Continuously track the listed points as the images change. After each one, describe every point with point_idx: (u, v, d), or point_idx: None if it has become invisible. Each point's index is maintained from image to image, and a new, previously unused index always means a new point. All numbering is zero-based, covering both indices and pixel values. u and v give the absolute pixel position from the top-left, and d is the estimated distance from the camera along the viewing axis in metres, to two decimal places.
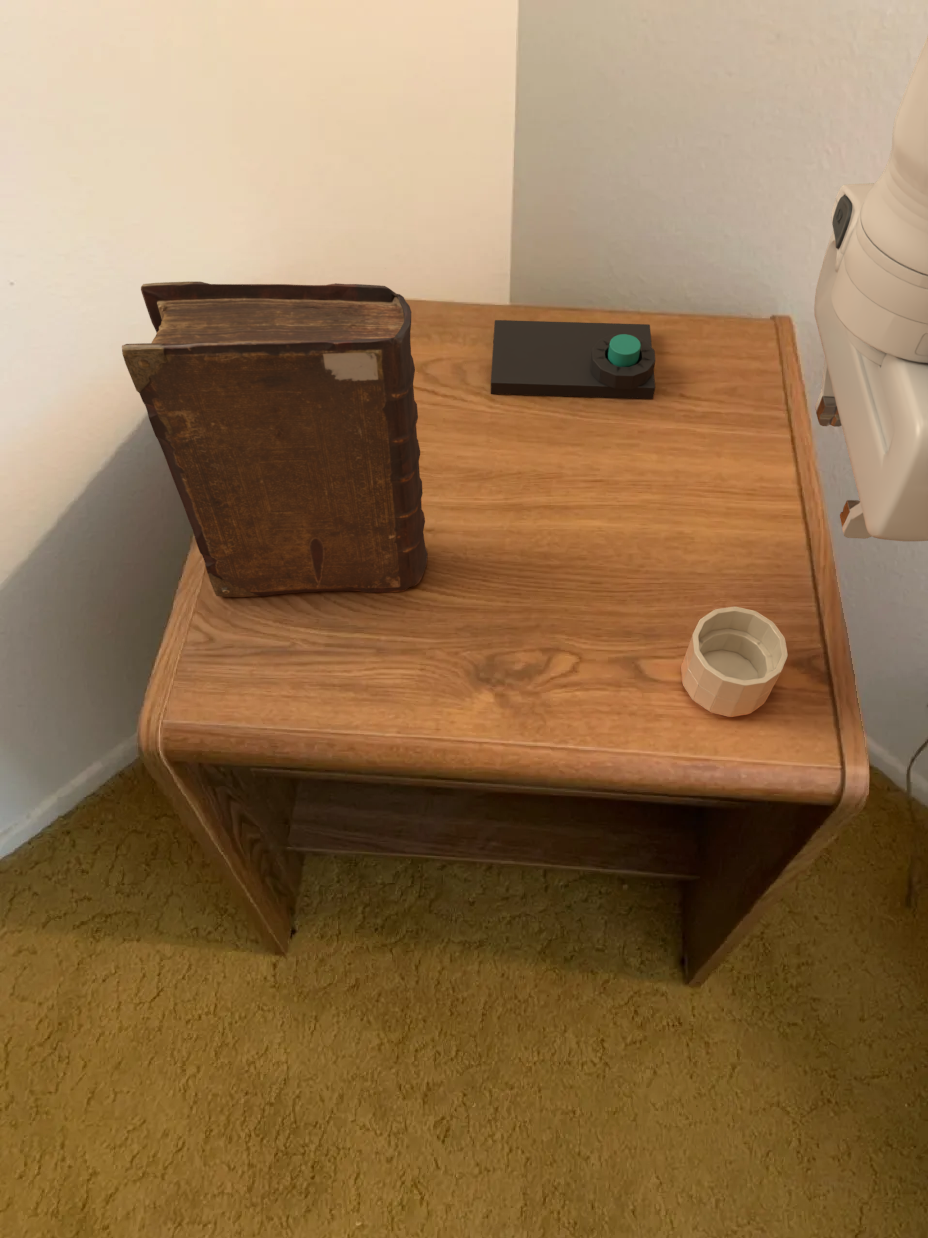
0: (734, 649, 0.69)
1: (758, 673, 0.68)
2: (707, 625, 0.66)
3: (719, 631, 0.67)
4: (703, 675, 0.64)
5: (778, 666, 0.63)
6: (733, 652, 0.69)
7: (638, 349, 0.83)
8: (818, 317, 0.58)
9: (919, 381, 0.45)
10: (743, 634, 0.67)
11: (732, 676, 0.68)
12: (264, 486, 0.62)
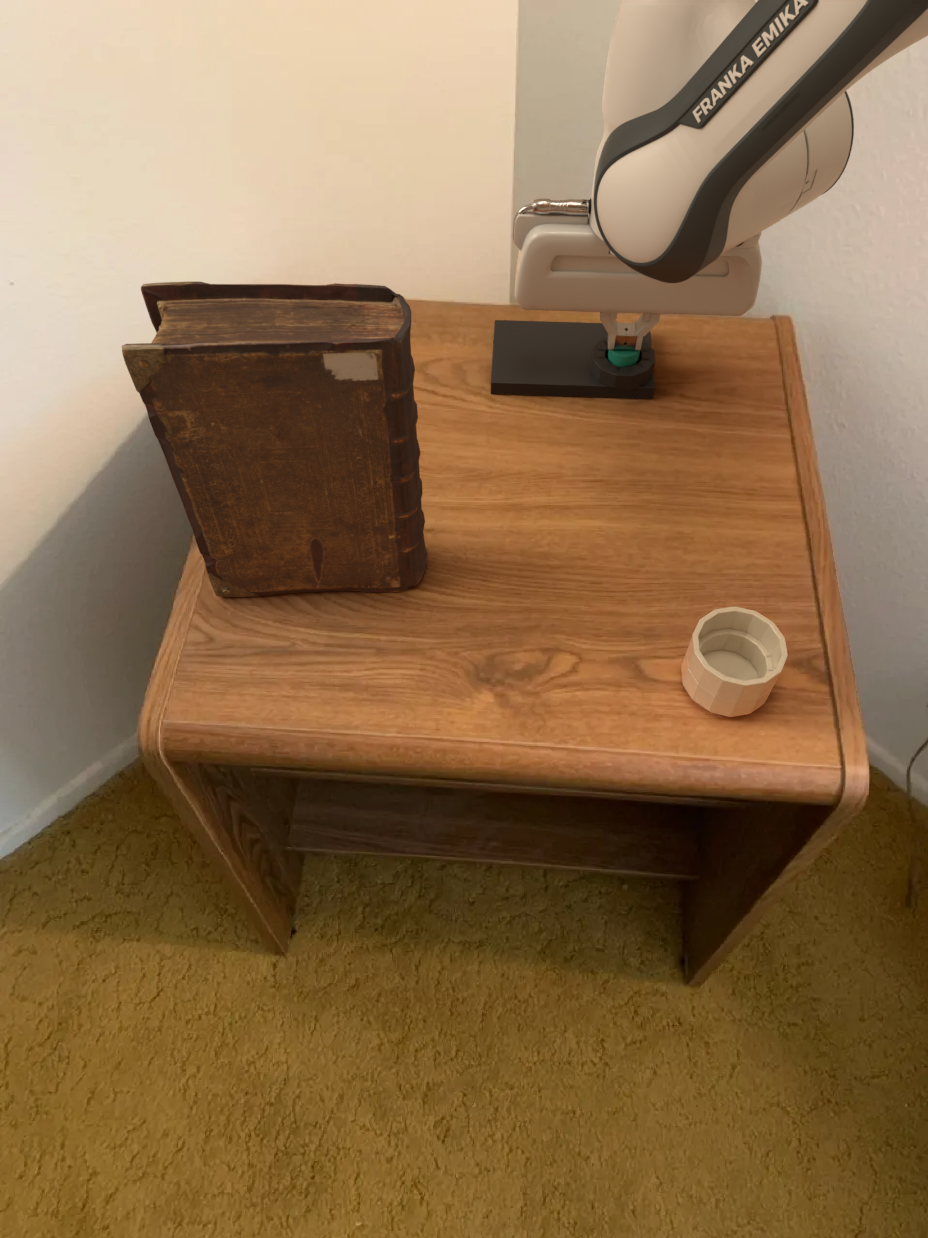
0: (734, 649, 0.69)
1: (758, 673, 0.68)
2: (707, 625, 0.66)
3: (719, 631, 0.67)
4: (703, 675, 0.64)
5: (778, 666, 0.63)
6: (733, 652, 0.69)
7: (638, 351, 0.83)
8: None
9: None
10: (743, 634, 0.67)
11: (732, 676, 0.68)
12: (264, 486, 0.62)
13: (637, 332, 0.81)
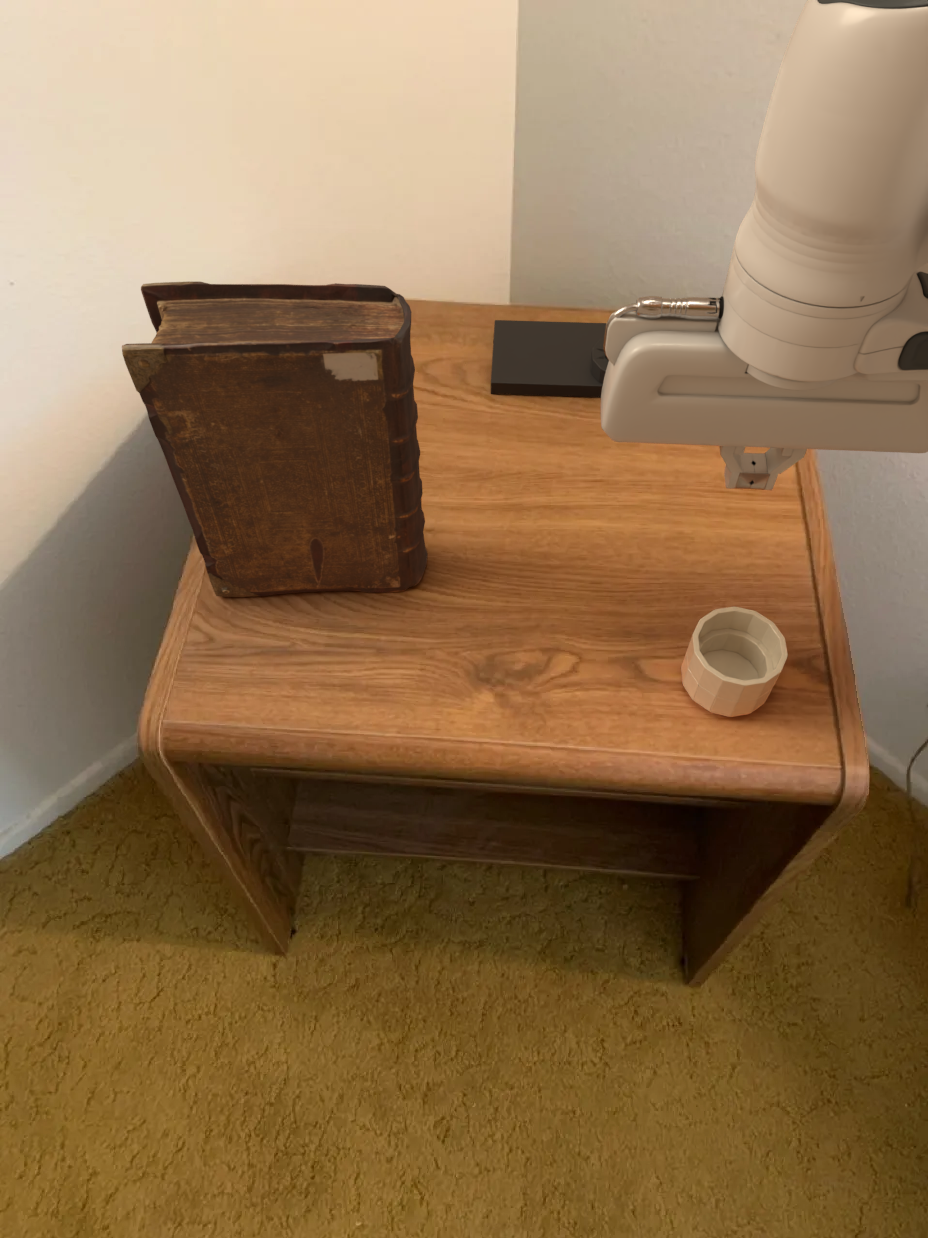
0: (734, 649, 0.69)
1: (758, 673, 0.68)
2: (707, 625, 0.66)
3: (719, 631, 0.67)
4: (703, 675, 0.64)
5: (778, 666, 0.63)
6: (733, 652, 0.69)
7: None
8: None
9: None
10: (743, 634, 0.67)
11: (732, 676, 0.68)
12: (264, 486, 0.62)
13: (770, 469, 0.58)
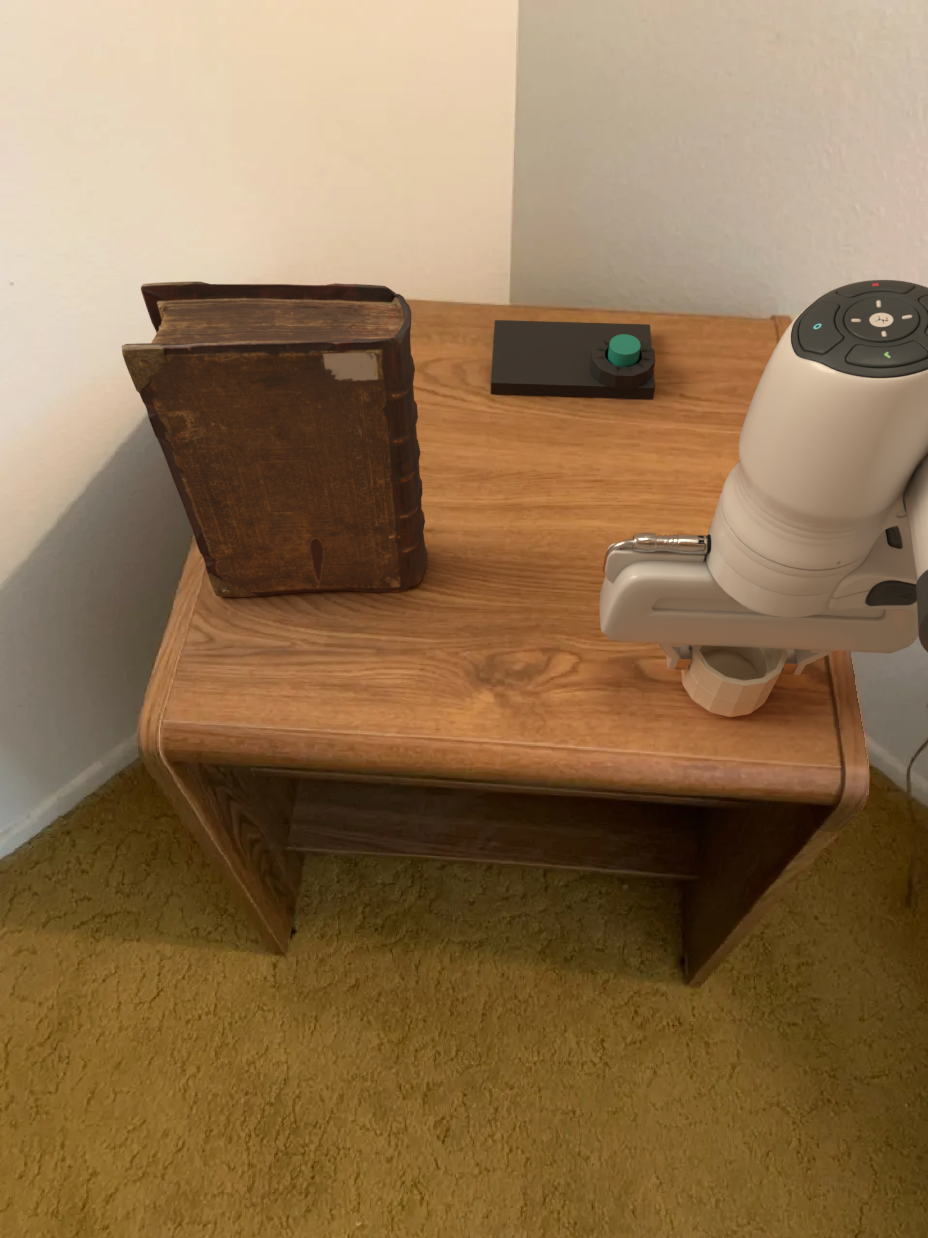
0: (734, 649, 0.69)
1: (758, 673, 0.68)
2: None
3: None
4: (703, 675, 0.64)
5: (778, 666, 0.63)
6: (733, 652, 0.69)
7: (638, 349, 0.83)
8: None
9: None
10: None
11: (732, 676, 0.68)
12: (264, 486, 0.62)
13: (798, 659, 0.64)
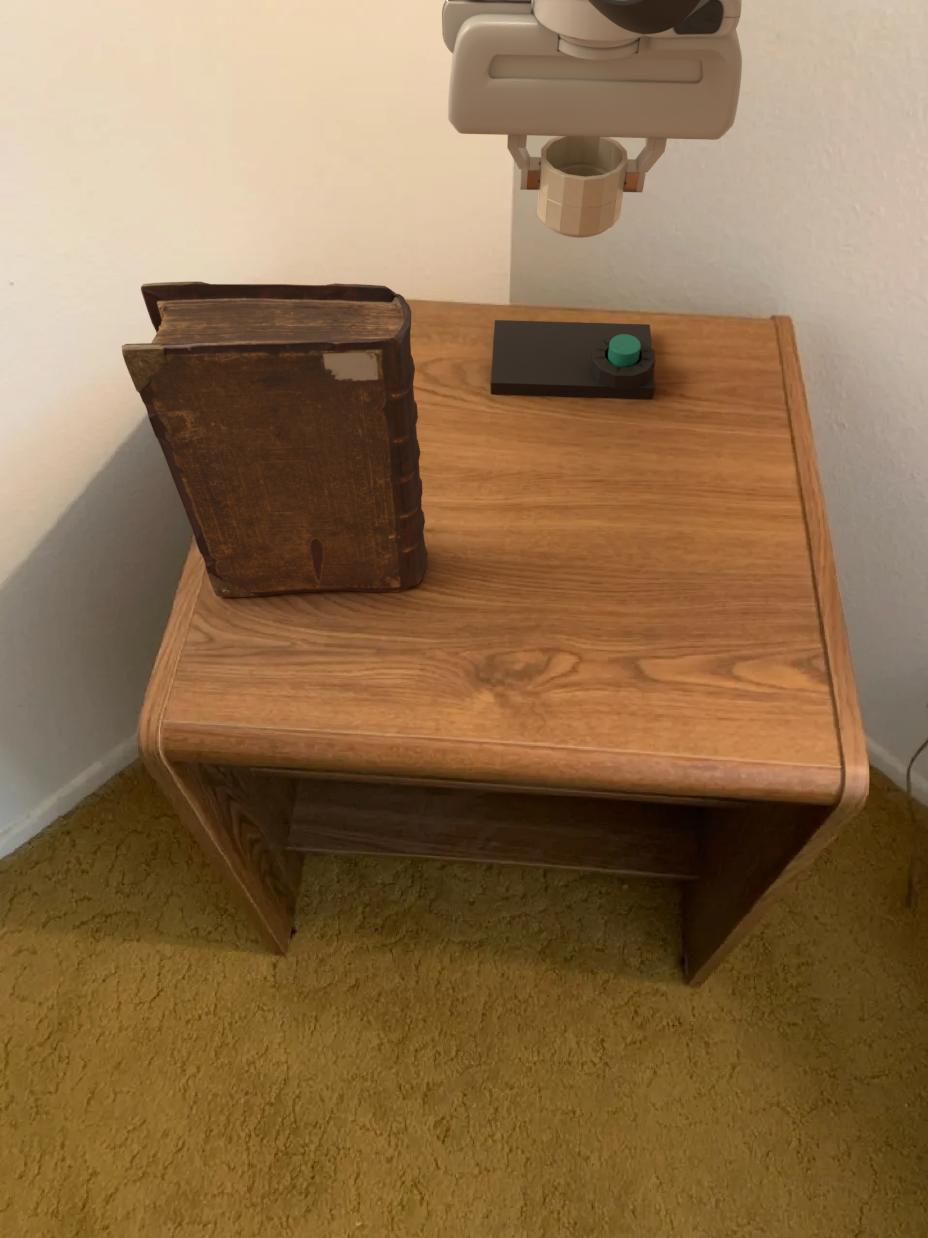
0: None
1: None
2: (558, 151, 0.71)
3: (571, 164, 0.72)
4: (549, 181, 0.68)
5: (617, 167, 0.68)
6: None
7: (638, 349, 0.83)
8: None
9: None
10: (594, 166, 0.72)
11: None
12: (264, 486, 0.62)
13: (639, 167, 0.68)
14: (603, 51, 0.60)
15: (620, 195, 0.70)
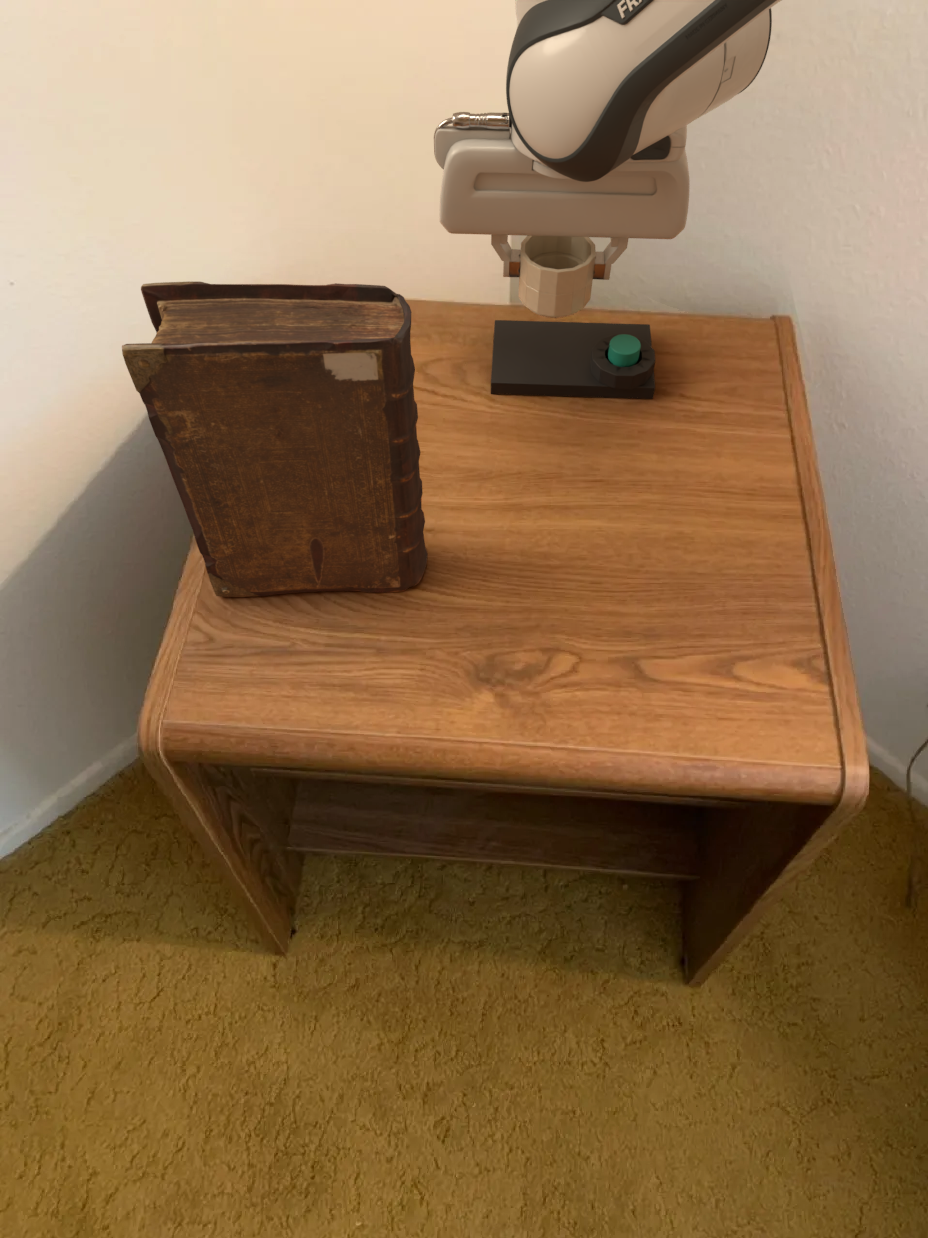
0: None
1: None
2: (536, 243, 0.81)
3: (548, 253, 0.82)
4: (527, 271, 0.79)
5: (586, 261, 0.78)
6: None
7: (638, 349, 0.83)
8: None
9: None
10: (567, 255, 0.82)
11: None
12: (264, 486, 0.62)
13: (605, 260, 0.79)
14: None
15: (590, 282, 0.80)
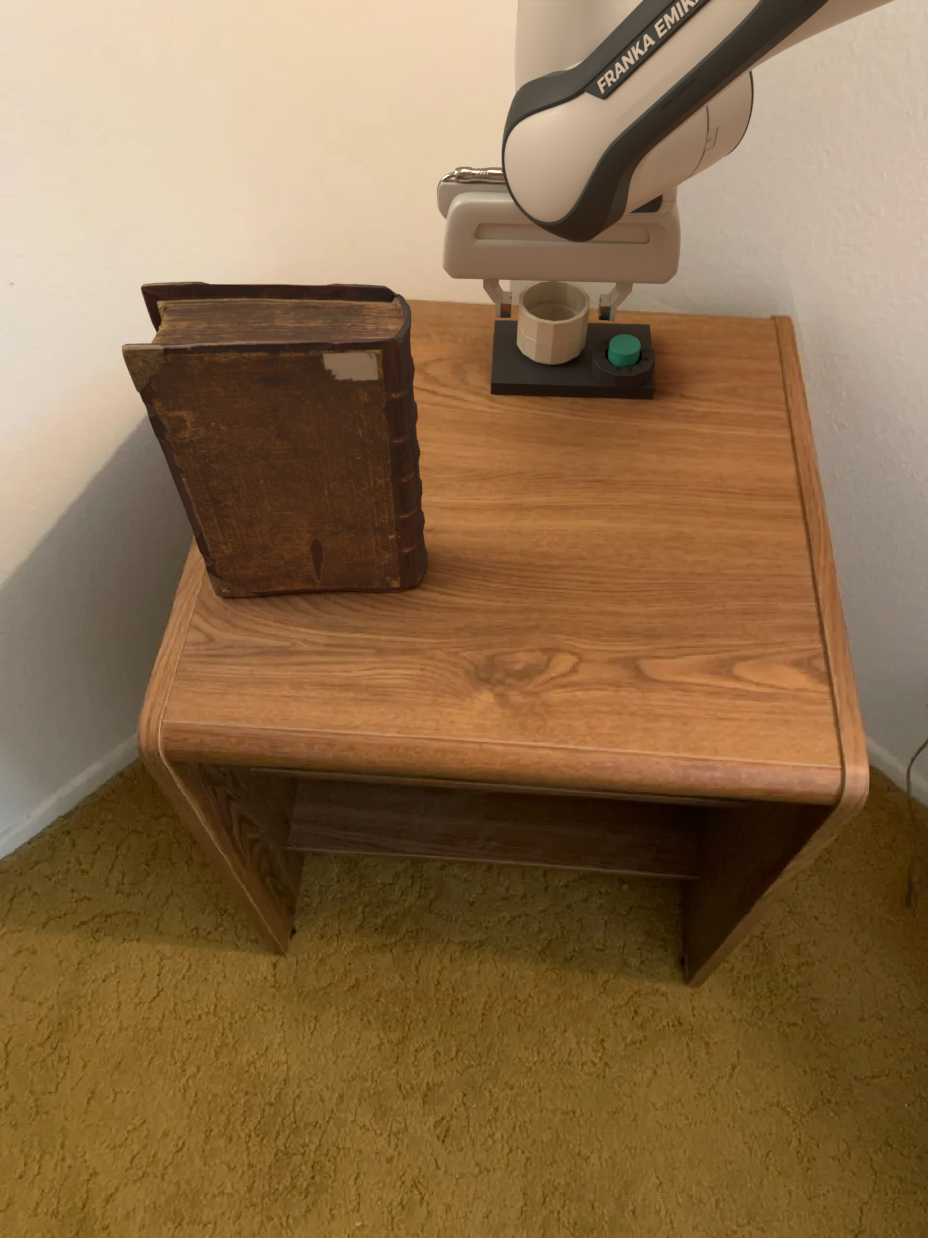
0: None
1: None
2: (533, 294, 0.85)
3: (545, 303, 0.87)
4: (525, 322, 0.83)
5: (581, 312, 0.82)
6: None
7: (638, 349, 0.83)
8: None
9: None
10: (563, 305, 0.87)
11: None
12: (264, 486, 0.62)
13: (611, 302, 0.83)
14: None
15: (584, 332, 0.85)
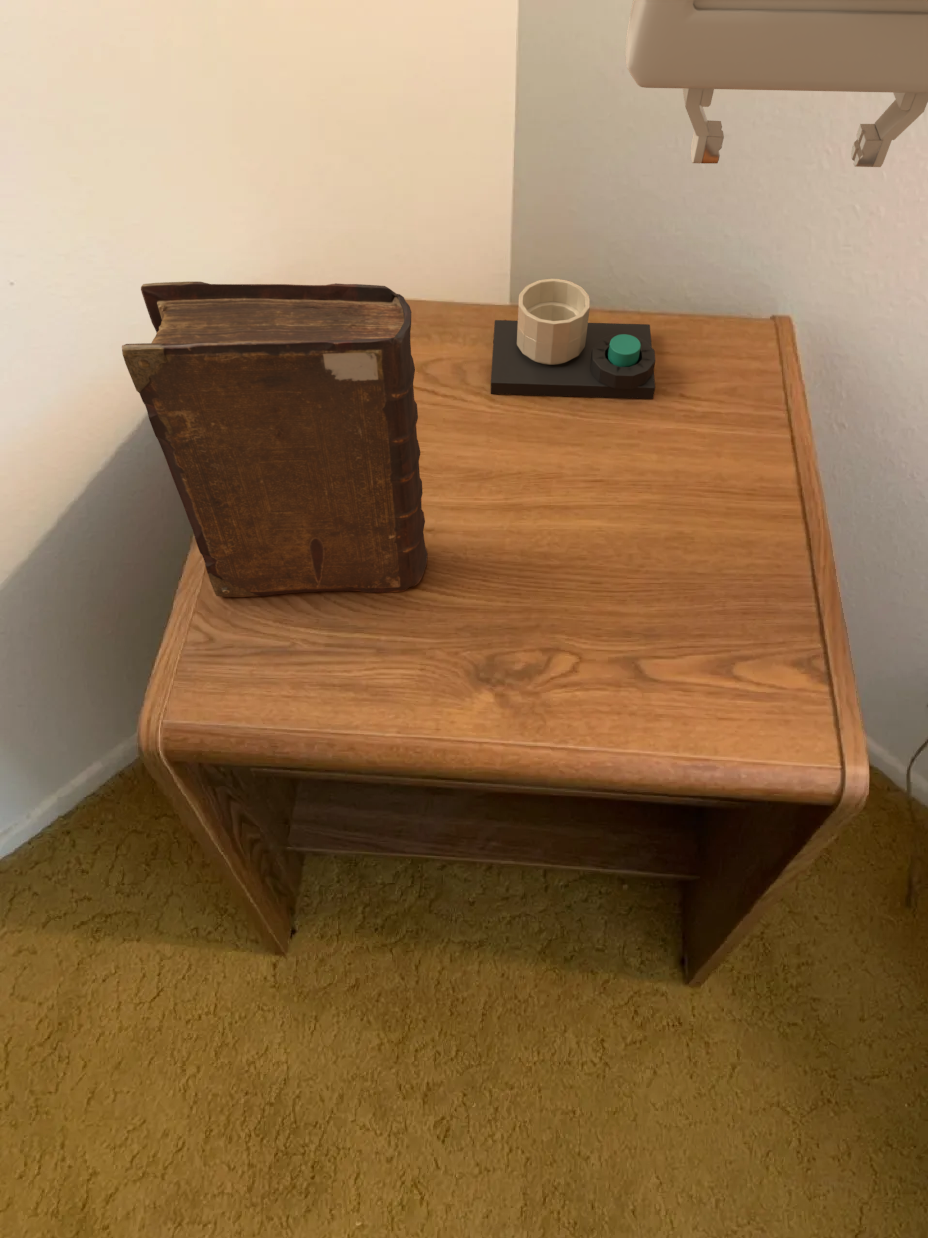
0: None
1: None
2: (533, 294, 0.85)
3: (545, 303, 0.87)
4: (525, 322, 0.83)
5: (581, 312, 0.82)
6: None
7: (638, 349, 0.83)
8: None
9: None
10: (563, 305, 0.87)
11: None
12: (264, 486, 0.62)
13: (883, 134, 0.52)
14: None
15: (584, 332, 0.85)
